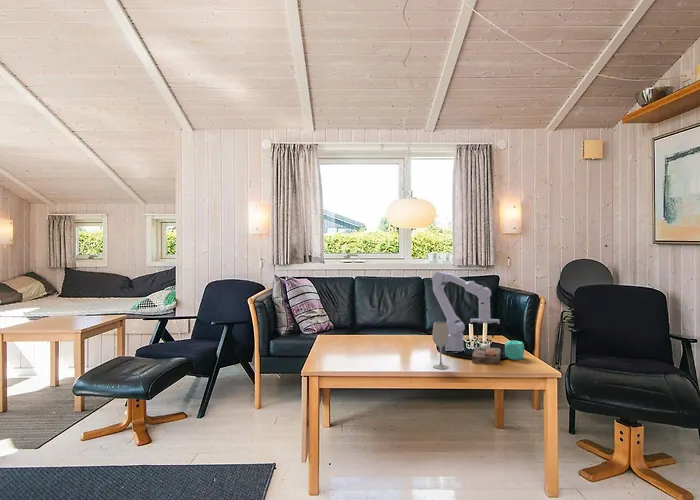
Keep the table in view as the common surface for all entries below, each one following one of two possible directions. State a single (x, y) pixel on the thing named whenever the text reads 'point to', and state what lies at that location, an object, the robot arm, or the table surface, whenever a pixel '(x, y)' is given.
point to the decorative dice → (514, 350)
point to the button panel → (481, 357)
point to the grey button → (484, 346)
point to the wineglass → (440, 339)
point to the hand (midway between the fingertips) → (485, 337)
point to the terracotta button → (490, 352)
